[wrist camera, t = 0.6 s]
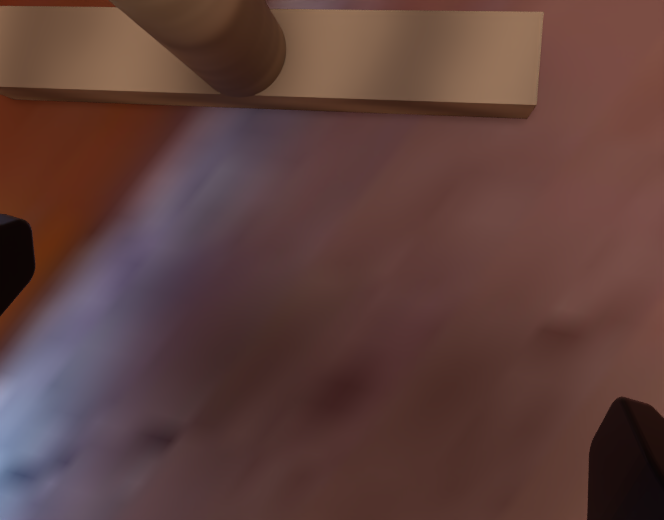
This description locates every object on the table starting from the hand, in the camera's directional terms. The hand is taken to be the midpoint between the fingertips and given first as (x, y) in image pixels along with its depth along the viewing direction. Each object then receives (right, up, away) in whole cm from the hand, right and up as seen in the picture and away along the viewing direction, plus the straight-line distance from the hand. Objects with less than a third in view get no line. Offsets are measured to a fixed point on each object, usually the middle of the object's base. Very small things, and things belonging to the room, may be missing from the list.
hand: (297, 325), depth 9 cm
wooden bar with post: (-2, +8, +14) cm, 16 cm away
